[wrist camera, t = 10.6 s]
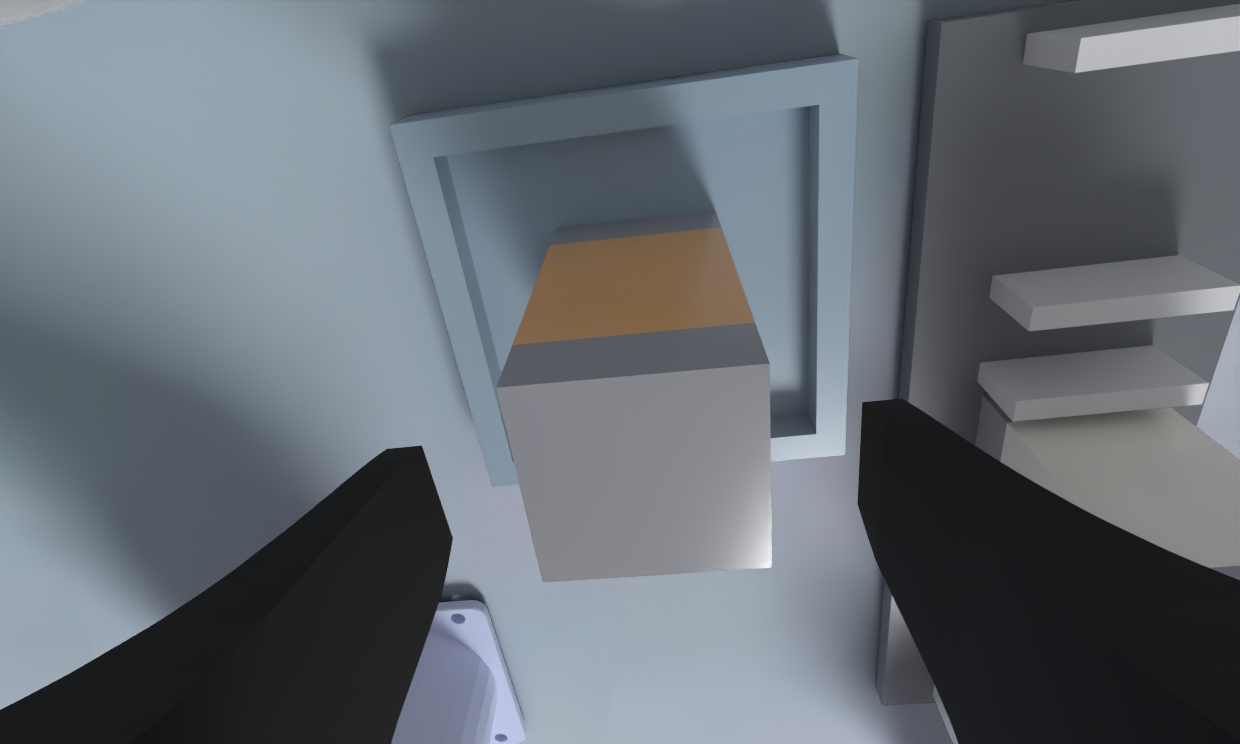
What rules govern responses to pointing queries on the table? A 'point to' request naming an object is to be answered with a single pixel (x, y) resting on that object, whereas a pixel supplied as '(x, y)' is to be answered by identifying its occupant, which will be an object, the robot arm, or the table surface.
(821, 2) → the table surface
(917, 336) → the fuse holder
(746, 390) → the block
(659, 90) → the tray
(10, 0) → the lidded jar
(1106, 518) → the block
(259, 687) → the robot arm
